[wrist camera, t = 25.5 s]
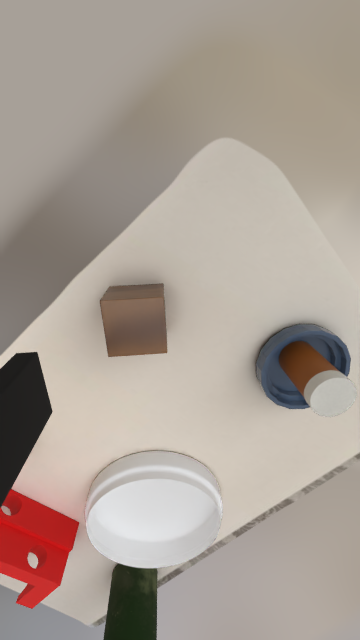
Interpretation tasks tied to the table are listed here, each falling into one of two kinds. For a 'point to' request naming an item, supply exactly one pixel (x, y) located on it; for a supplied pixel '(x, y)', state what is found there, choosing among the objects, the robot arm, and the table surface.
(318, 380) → the vitamin bottle
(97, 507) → the round white tray
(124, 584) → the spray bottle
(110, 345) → the riser
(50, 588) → the bracket
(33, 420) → the robot arm
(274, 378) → the bowl
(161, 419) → the table surface
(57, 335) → the table surface
